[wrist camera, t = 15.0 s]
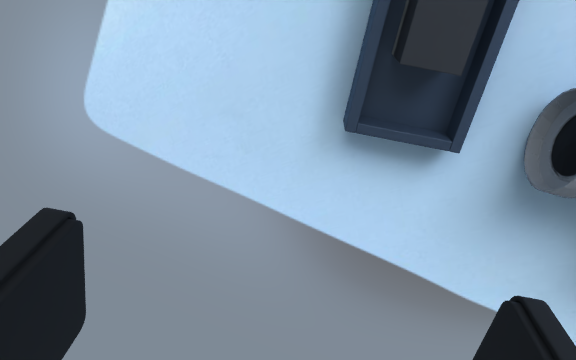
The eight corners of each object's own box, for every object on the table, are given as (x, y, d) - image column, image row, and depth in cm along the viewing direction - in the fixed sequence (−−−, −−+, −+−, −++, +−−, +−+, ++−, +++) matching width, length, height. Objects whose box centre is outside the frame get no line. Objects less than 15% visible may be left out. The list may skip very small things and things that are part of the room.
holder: (343, 120, 35) (344, 131, 33) (420, -187, 26) (429, -201, 24) (450, 141, 35) (459, 153, 33) (562, -156, 27) (584, -167, 24)
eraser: (391, 53, 32) (399, 63, 29) (426, -70, 29) (440, -75, 25) (447, 65, 32) (461, 76, 29) (489, -57, 29) (510, -60, 26)
